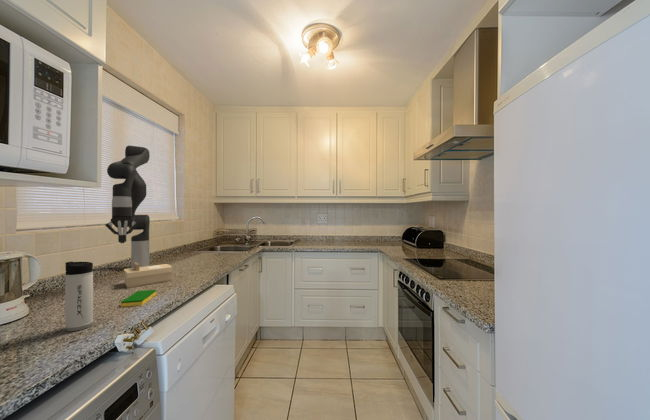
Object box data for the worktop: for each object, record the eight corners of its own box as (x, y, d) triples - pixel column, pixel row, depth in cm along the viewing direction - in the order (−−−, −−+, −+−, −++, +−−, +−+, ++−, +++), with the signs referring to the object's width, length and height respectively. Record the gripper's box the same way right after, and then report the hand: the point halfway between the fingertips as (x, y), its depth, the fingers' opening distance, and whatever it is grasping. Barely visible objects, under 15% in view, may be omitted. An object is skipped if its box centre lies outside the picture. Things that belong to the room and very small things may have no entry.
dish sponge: (120, 308, 99) (120, 301, 99) (137, 296, 112) (137, 290, 112) (142, 306, 100) (142, 300, 100) (156, 295, 114) (156, 289, 114)
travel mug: (76, 323, 84) (75, 260, 84) (98, 322, 85) (98, 259, 85) (58, 332, 78) (57, 264, 78) (82, 331, 79) (82, 263, 79)
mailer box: (124, 283, 130) (124, 271, 130) (166, 277, 143) (166, 266, 143) (127, 288, 123) (127, 275, 123) (171, 280, 135) (171, 269, 135)
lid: (123, 274, 131) (123, 263, 131) (166, 268, 144) (166, 258, 144) (127, 278, 122) (127, 266, 122) (172, 271, 135) (172, 261, 135)
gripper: (137, 206, 133) (137, 241, 133) (103, 206, 124) (103, 243, 124) (140, 206, 128) (140, 242, 128) (104, 206, 119) (104, 245, 118)
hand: (122, 243), depth 126 cm, fingers closed
